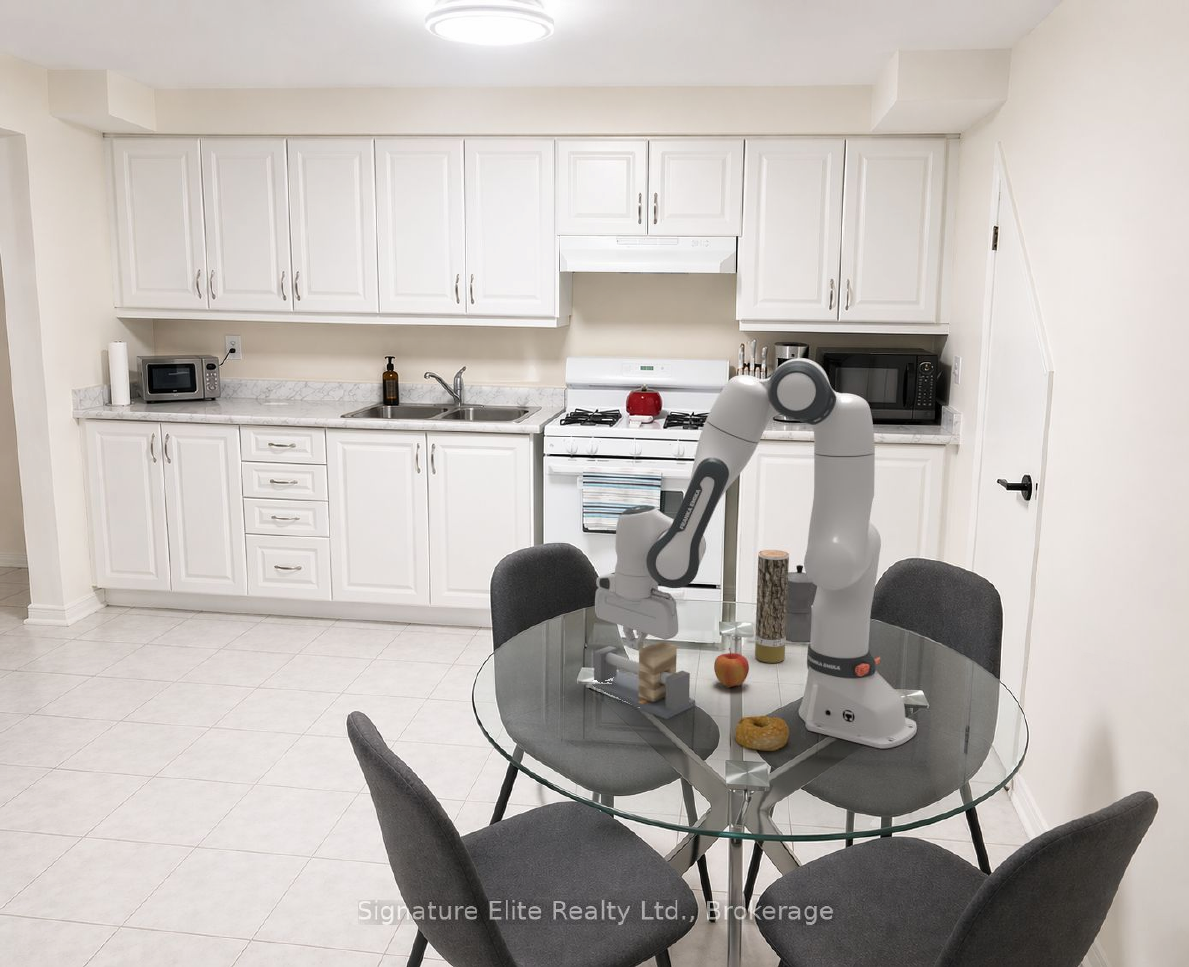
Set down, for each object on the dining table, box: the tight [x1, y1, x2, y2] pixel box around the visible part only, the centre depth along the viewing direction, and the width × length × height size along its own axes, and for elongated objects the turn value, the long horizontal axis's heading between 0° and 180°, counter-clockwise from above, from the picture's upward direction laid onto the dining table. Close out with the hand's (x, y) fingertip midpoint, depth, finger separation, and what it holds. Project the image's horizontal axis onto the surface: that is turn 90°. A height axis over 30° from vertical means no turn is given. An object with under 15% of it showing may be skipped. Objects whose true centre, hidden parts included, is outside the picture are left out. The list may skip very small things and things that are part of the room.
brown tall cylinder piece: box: [754, 549, 790, 664], centre depth 217 cm, size 7×7×25 cm
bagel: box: [734, 715, 790, 752], centre depth 178 cm, size 10×11×5 cm
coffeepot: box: [786, 564, 817, 643], centre depth 232 cm, size 15×9×18 cm, turn 70°
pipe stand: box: [592, 645, 696, 720], centre depth 197 cm, size 22×9×8 cm, turn 46°
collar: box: [638, 640, 678, 702], centre depth 193 cm, size 4×7×10 cm, turn 136°
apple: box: [713, 647, 750, 689], centre depth 203 cm, size 7×7×8 cm
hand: (635, 648), depth 197 cm, fingers closed
